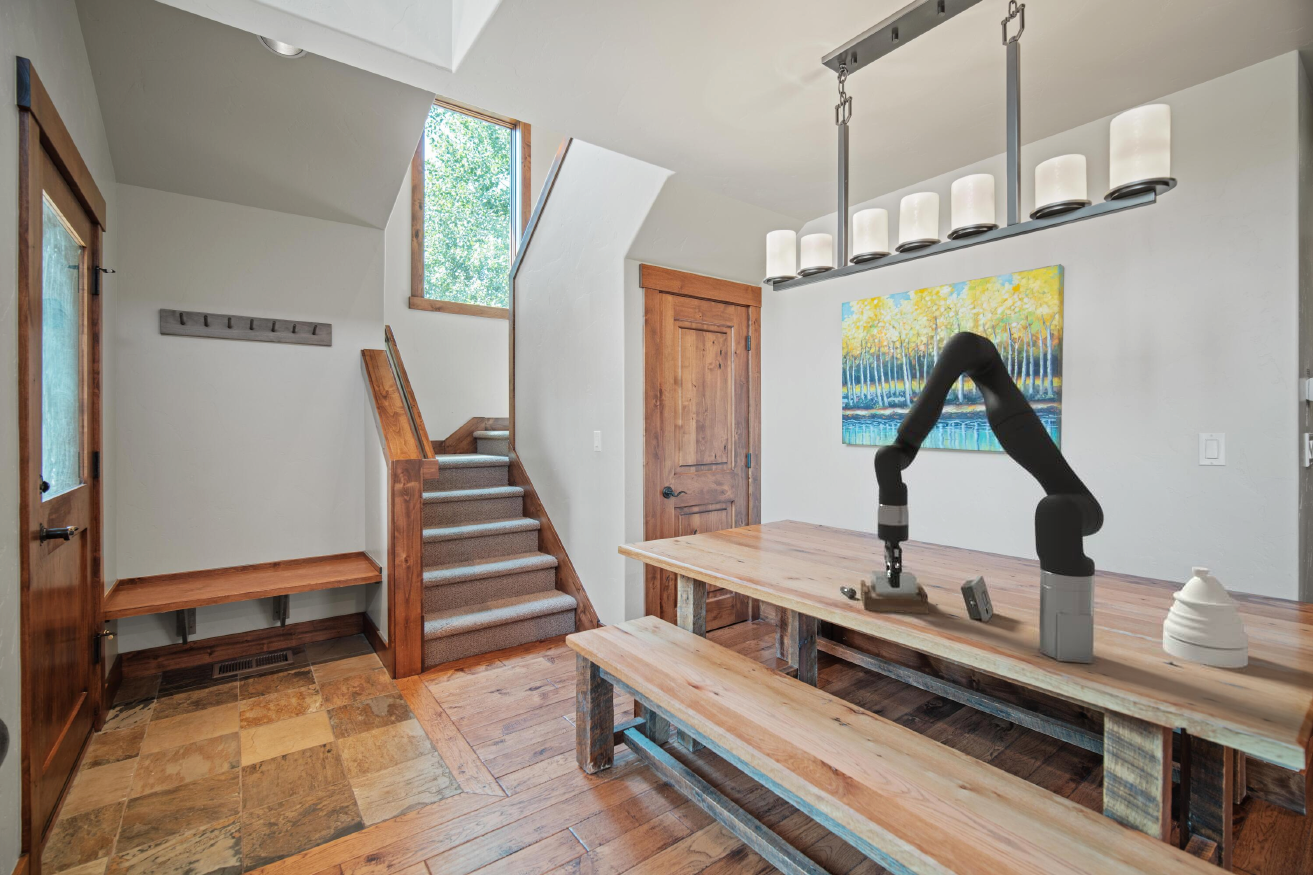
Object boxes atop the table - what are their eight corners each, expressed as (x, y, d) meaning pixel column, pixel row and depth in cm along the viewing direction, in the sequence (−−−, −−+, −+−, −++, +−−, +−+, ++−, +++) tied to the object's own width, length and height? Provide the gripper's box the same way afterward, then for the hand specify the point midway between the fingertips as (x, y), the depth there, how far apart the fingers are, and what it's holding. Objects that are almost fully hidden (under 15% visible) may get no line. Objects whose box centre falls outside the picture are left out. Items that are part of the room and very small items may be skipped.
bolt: (856, 598, 163) (856, 588, 163) (847, 598, 163) (847, 588, 163) (847, 591, 169) (847, 582, 169) (838, 592, 169) (838, 582, 169)
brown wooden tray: (928, 613, 150) (928, 595, 149) (864, 609, 153) (864, 592, 153) (919, 599, 161) (919, 582, 161) (860, 595, 165) (860, 579, 165)
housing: (916, 596, 154) (916, 574, 153) (875, 595, 155) (875, 573, 155) (910, 590, 159) (910, 568, 159) (871, 589, 160) (871, 567, 160)
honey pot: (1226, 672, 114) (1229, 578, 114) (1149, 648, 126) (1150, 563, 126) (1261, 660, 120) (1263, 571, 119) (1183, 639, 131) (1185, 557, 131)
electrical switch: (986, 623, 143) (982, 584, 143) (962, 620, 146) (959, 582, 146) (994, 613, 150) (990, 575, 150) (971, 611, 153) (967, 574, 153)
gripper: (913, 526, 149) (912, 591, 149) (904, 517, 162) (904, 576, 163) (880, 525, 151) (880, 589, 151) (874, 516, 164) (874, 575, 165)
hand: (892, 583), depth 157 cm, fingers open, 8 cm apart
